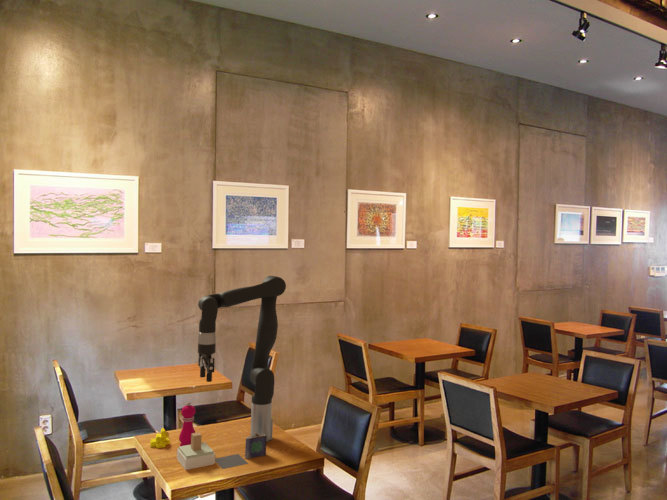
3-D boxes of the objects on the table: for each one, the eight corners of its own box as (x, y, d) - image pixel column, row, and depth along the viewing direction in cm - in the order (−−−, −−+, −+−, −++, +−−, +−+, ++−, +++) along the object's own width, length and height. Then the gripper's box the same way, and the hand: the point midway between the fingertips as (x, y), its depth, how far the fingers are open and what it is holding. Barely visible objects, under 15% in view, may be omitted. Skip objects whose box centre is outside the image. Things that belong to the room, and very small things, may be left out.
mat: (238, 454, 218) (238, 453, 218) (248, 464, 209) (248, 463, 209) (213, 459, 212) (213, 458, 212) (222, 470, 203) (222, 469, 203)
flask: (246, 460, 213) (247, 434, 213) (243, 457, 216) (244, 432, 216) (266, 456, 218) (267, 431, 218) (264, 453, 220) (264, 428, 220)
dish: (205, 454, 218) (205, 443, 218) (214, 464, 208) (215, 453, 208) (176, 459, 211) (177, 448, 211) (185, 471, 201) (185, 459, 201)
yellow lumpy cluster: (149, 444, 227) (150, 426, 227) (168, 441, 230) (168, 424, 230) (151, 449, 222) (151, 431, 222) (170, 446, 225) (171, 428, 225)
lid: (204, 444, 217) (205, 427, 217) (213, 453, 208) (214, 436, 208) (178, 449, 211) (179, 432, 211) (186, 458, 202) (187, 441, 202)
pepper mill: (191, 451, 220) (192, 405, 220) (175, 449, 221) (176, 403, 221) (198, 445, 227) (200, 400, 227) (183, 443, 228) (185, 398, 228)
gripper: (220, 344, 220) (219, 382, 220) (209, 338, 232) (208, 374, 232) (203, 345, 216) (202, 384, 216) (193, 340, 228) (192, 376, 228)
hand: (205, 379), depth 224 cm, fingers open, 8 cm apart
